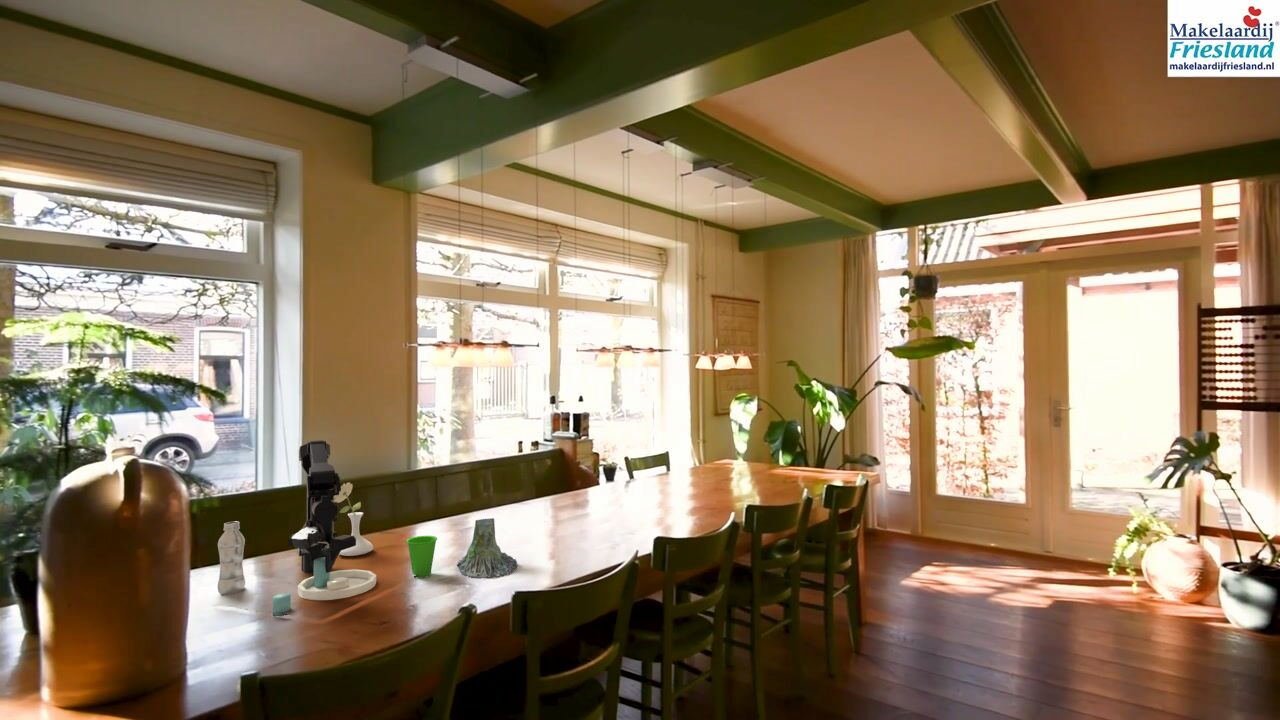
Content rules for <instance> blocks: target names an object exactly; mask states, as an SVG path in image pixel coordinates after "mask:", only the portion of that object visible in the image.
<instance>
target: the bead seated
mask: <svg viewBox="0 0 1280 720" xmlns="http://www.w3.org/2000/svg"><path fill="white" fill-rule="evenodd" d="M328 580H330V575H329V576H327V577H323V578H314V587H315V588H322V587H326V586H327V581H328Z"/></svg>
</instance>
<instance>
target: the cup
mask: <svg viewBox="0 0 1280 720" xmlns="http://www.w3.org/2000/svg"><path fill="white" fill-rule="evenodd" d="M437 540H438V536H437V537H436V536H434V535H418V536H414V537H412V536H411V537H410V538H408V539H406V541H405V542H406V543H407V547H408V554H409V560H410V566H411V572H412V574H413V578H415V577H418V578H417V579H421V578H420V577H424V578H427V577H426V576H428V577H430V576H431V573H432V567H433V561H434V555H435V550H436V543H437Z"/></svg>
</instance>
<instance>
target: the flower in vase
mask: <svg viewBox="0 0 1280 720" xmlns="http://www.w3.org/2000/svg"><path fill="white" fill-rule="evenodd" d="M353 487H354V486H353V483H351V482H346V483H343V484H342V485H341V491H339V495H334V496H333V497H334V502H335V503H337V504H338V503H341V502H343V501H345V500H346V499H347V502H348V505H345V506H344V507H342V508H341V509H340V511H339V513H340V514H342V513H343V514H345V513H347V512H348V511H349V510H350V509H351V511H352V512H350V513H347V516H348V517H349V518H350V519H349V520H350V522H351V536H354V537H355V538H356V546H353V547H350V548H347V549H345V550H341V552H340V553H339V555H341V556H345V557H354V556H355V557H357V556H361V555H365V554H367V553H370V552H371V551H372V550H373V549H374V545H373V543H371V542H370V541H369V540H367V539H366V538H365V537H363V536H362V535H361V534H360V523H361V519H362V517H363V516H364V512H357V511H358V510H360V509H361V507H362V502H361V501H359V502H357V503H355V504H354V505H353V506H352V505H351V502H350V499H349V495H350V494H351V493H352V490H353ZM355 511H356V512H355Z"/></svg>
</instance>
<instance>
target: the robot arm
mask: <svg viewBox="0 0 1280 720" xmlns="http://www.w3.org/2000/svg"><path fill="white" fill-rule="evenodd" d="M330 458H331V444H330V443H327V441H326V440H323V439H321V440H310V441H307V443H306V444H305V443H304V444H302V445H300V446H299V448H298V460H299V462H301V463H300V464H301V467H302V468H303V470H304V472H305V473H306V521H305V523H304V524H303V526H302V528H301V529H300V530H299V531H298V532H296V533H292V534H290V536H289V537H288V539H287V546H289V547H290V546H291V547H293V548H294V549H297V554H298V557H301V571H303V573H307V574H311V573H313V574H314V559H317V558H321V557H325V568H326V573H329V572H332V570H333V567H334V565H335V562H336V561H337V558H338V557H339V555H340V554H339V553H340V552H341V550H345V549H347V548H350V547H353V546H356V538H355V537H354V536H351V535H352V534H351V535H350V534H343V535H339V536H338V532H337V531H335V530H334V528H335V527H334V522H337V521H338V517H337V516H338V513H339V508H338V505H337V504H336V502H335V501H334V500H335V498H334V495H339V491H341V486H342V484H341V477H340V476H339V473H338V472H336V470H335V467H334V466H333V465H331V464H329V461H328V460H330Z"/></svg>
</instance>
